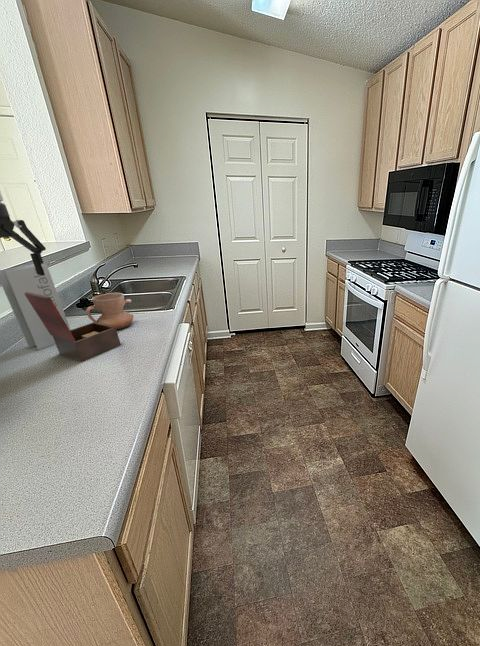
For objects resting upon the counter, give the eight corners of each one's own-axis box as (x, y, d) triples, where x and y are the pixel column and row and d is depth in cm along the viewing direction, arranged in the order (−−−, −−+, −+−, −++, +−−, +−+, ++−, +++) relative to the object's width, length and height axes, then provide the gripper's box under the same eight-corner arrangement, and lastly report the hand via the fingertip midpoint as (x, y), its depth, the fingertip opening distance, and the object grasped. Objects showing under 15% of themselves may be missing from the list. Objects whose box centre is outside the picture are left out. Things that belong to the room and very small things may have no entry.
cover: (26, 292, 110) (23, 293, 109) (49, 296, 104) (46, 298, 104) (53, 333, 120) (50, 335, 119) (75, 340, 114) (73, 341, 113)
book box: (99, 340, 135) (93, 322, 132) (121, 345, 130) (115, 327, 126) (60, 355, 123) (52, 336, 120) (82, 362, 117) (74, 342, 114)
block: (85, 347, 127) (81, 335, 125) (98, 343, 131) (94, 331, 128) (93, 350, 125) (89, 338, 122) (106, 345, 129) (102, 333, 126)
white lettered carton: (38, 351, 127) (5, 272, 113) (29, 349, 129) (-5, 271, 115) (73, 337, 139) (46, 264, 125) (63, 335, 141) (36, 263, 127)
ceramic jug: (133, 318, 158) (125, 289, 151) (140, 327, 147) (132, 296, 141) (90, 327, 149) (80, 296, 142) (94, 337, 138) (83, 304, 132)
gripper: (-67, 204, 81) (-28, 290, 90) (42, 201, 100) (66, 272, 110) (-80, 204, 84) (-40, 287, 93) (29, 201, 104) (53, 270, 113)
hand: (17, 279), depth 102 cm, fingers open, 13 cm apart
